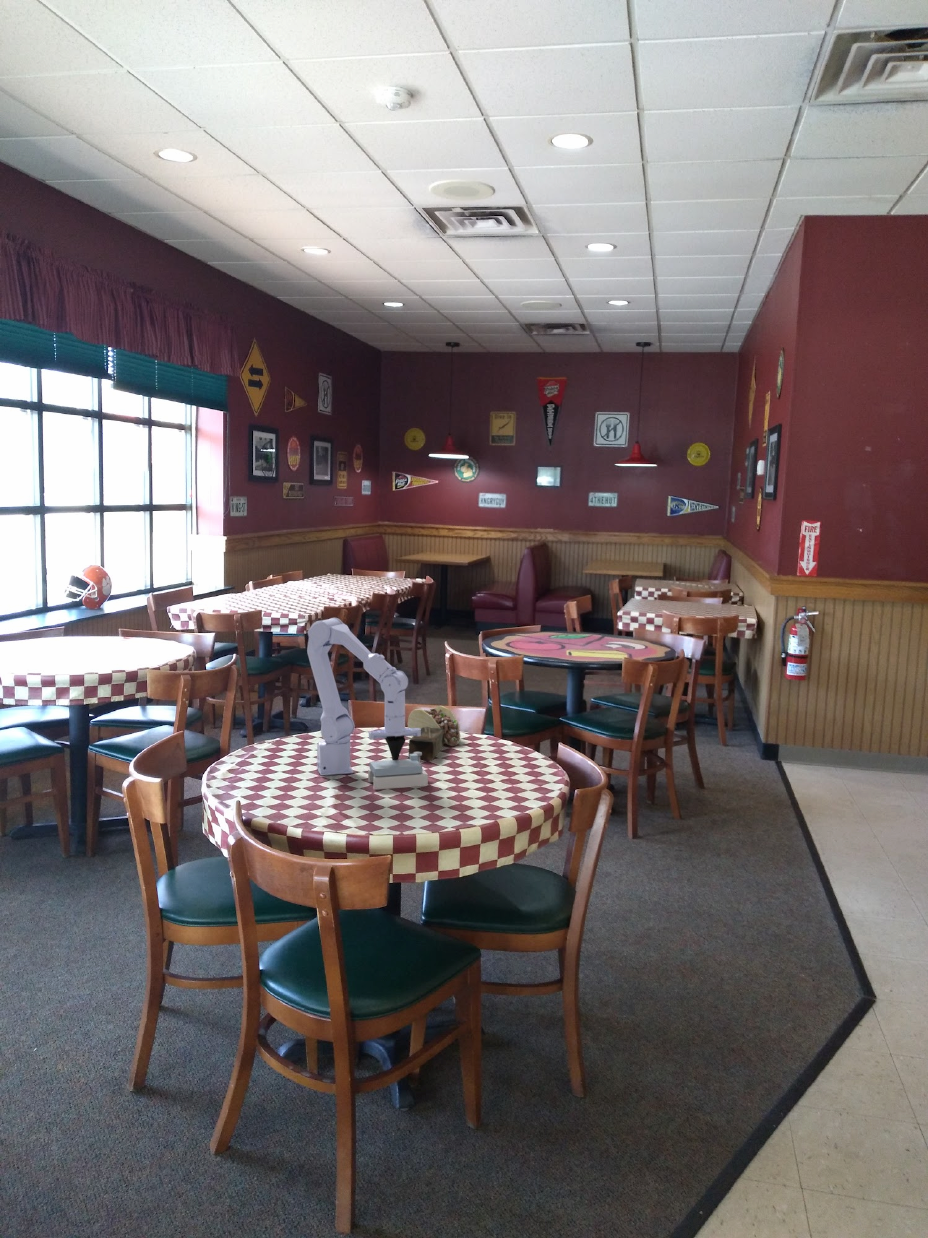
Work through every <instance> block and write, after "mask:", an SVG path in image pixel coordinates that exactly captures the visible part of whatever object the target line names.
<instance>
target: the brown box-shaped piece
mask: <svg viewBox="0 0 928 1238" xmlns="http://www.w3.org/2000/svg"><path fill="white" fill-rule="evenodd" d="M444 732H445V730H444V729H440V728H431V727H429V726H426V727H422V728H421V736H411V738H410V739H409V741H408V742H409V743H408V755H409V754H413V753H414V752H422V755H421V756H420V761H429V762H433V760H434V759H435V758H436V757H437V755H438V754H439V752H441V750H442V749H443V747H444V746H445V743H444ZM407 759H409V756H408V758H407Z"/></svg>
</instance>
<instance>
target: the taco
mask: <svg viewBox="0 0 928 1238" xmlns="http://www.w3.org/2000/svg"><path fill="white" fill-rule="evenodd" d="M406 726H407V728H419V729H421V728H422V727H426V726H429V727H431V728H440V729H444V730H445V732H444V745H445V744H446V745H447V746H450V747H455V746H457V745H458V744H460V741H461V732H460V724H459V722H458V719H457V717H456V715H455V713H454V712H453V711H452V710H451V709H449V708H447V707H445V706H443V705H438V706H436V707H434V708H431V709H428V710H426V709H421V708H419V709H417V708H416V709H413V710H412V711H411V712H410V713H409V714H408V719H407V725H406Z"/></svg>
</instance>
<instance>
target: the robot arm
mask: <svg viewBox="0 0 928 1238" xmlns="http://www.w3.org/2000/svg"><path fill="white" fill-rule="evenodd" d="M307 636H308V642H307V650H306V652H307V656H308V660H309V664H310V667H311V671H312V674H313V678H314V681H315V685H316V689H317V693H318V696H319V700H320V702H321V703H320V704H321V707H322V713H321V715H320V723H321V724H320V726H321V727H320V734H321V737H322V739H323V740H324V741H318V742H317V744H316V745H317V748H316V761H317V762H316V769H317V771H318V773H319V774H320V776H333V775H347V774H354V770H353V768H352V767H351V735H352V734H353V733H354V730H355V727H356V726H355V721H354V720H353V718H352V717H351V716H350V714H349V711H348V709H347V708H346V707H344V705H342V701H341V698H340V694H339V690H338V688H337V683H336V680H335V677H334V671H333V669H332V665H331V661H330V657H329V654H328V653H329V651H330V650H331V648H332V646H333V645H341V646H343V647H344V648H346V649H347V650H348V651H349V652H350V653H351V654H353V655H354V656H355V657H357V658H358V660H360V661H361V662H362V663H363V669H364V670H365V671H366V672H367V673H368V674H369V675H370V676H372V678H374V679H375V680H376V681H377V682H378V683H379V684H380V688H381V691H382V692H383V694H384V728H383V729H379V730H378V729H377V730H369V731H368V739H369V740H370V741H372V740H375V739H376V740H378V739H384V740H385V742H386V744H387V746H388V748H389V751H390V755H391V756H390V757H391V760H400V759H399V758H400V754H401V752H402V750H403V747H404V745H405V743H406V738H405V737H413V736H421V729H419V728H408V727H406V689H407V688H408V686H409V678H408V676H407V675H406V673H405V672H404V671H403V670H397V668H396V667H394V666H392V665H391V664H390V663H389V662H387V661H386V659H385V656H384V655H383V654H379V653H372V652H371V651H370V650H369V649H368V648H367V647H366V646H365V645H364V644H363V642H361V641H360V640H359V639H358V638H357V636H356V635H355V634H354V633H353V632H352V631H351V630H350V628H349V626H348V625H347V624H345V623H344V622H343V621H342V620H341V619H340V618H337V617H330V618H329V619H328V618H327V619H322V620H317V621H314V622H313V623H312V624H311V626H310V628H309V629H308V630H307Z"/></svg>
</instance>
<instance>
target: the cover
mask: <svg viewBox="0 0 928 1238" xmlns="http://www.w3.org/2000/svg"><path fill="white" fill-rule="evenodd" d="M421 755H422V752H414V753H413V754H409V753H408V757H409V759H408V758H406V759H398V760H392V759H391V760H377V761H376V760H375V761H369V770H371V771H372V773H373V774H374V776H386V775H401V774H415V773H422V769H423V765H422V764H421V762H420V763H419V762H418V761H417V760H418V756H421Z"/></svg>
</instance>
